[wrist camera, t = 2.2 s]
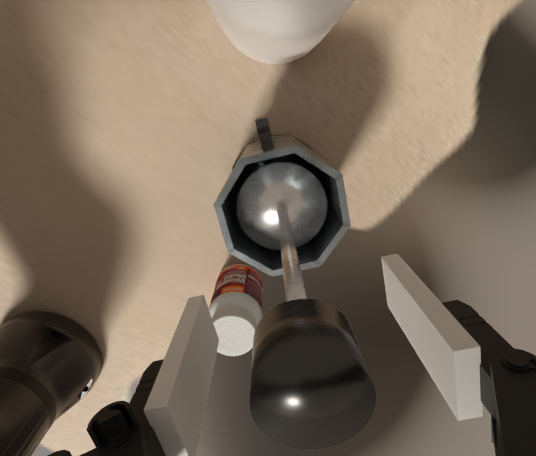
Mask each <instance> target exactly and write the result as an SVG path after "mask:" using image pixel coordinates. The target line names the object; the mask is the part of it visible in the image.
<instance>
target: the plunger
mask: <svg viewBox="0 0 536 456" xmlns="http://www.w3.org/2000/svg"><path fill="white" fill-rule="evenodd" d="M326 213H327V199H326V195H325V191H324V189H323V187H322V185H321V183H320V182H319V180H318V179H317V178H316V177H315V175H314V174H312V173H311V172H310V171H309V170H308V169H306V168H304V167H302V166H300V165H298V164H295V163H291V162H274V163H270V164H266V165H264V166H262V167H260V168H258V169H257V170H255V171H254V172H253V173H252V174H250V176H249V177H248V178H247V179H246V180H245V182H244V183H243V185H242V187H241V189H240V192H239V195H238V200H237V215H238V219H239V222H240V224H241V226H242V228H243V230H244V231H245V233H246V234H247V235H248V236H249V237H250V238H251V239H252V240H253V241H255V242H256V243H258V244H259V245H261V246H263V247H266V248H269V249H274V250H281V256H282V266H283V275H284V285H285V294H286V302H284V303H282V304H279V305H277V306H276V307H274V308H273V309H271V310H270V311H268V312H267V313H266V314H265V315H264V316H263V317H262V319H261V320H260V321H259V323H258V325H257V327H256V329H255V333H254V338H253V354H252V371H251V372H252V373H251V390H250V410H251V414H252V417H253V419H254V421H255V422H256V424H257V426H258V427H259V428H260V429H261V431H262V432H264V433H265V434H266V435H267V436H268V437H270V438H271V439H273V440H275V441H277V442H279V443H281V444H283V445H286V446H290V447H294V448H301V449H319V448H325V447H329V446H333V445H336V444H339V443H341V442H344V441H346V440H348V439H349V438H351V437H353V436H354V435H355V434H357V433H358V432H359V431H360V430H361V429H362V428H363V427H364V426H365V425H366V424H367V422H368V421H369V419H370V418H371V416H372V413H373V411H374V407H375V401H376V395H375V389H374V386H373V383H372V380H371V378H370V375H369V373H368V370H367V367H366V365H365V362H364V360H363V357H362V355H361V352H360V349H359V346H358V344H357V341H356V339H355V336H354V334H353V331H352V329H351V326H350V324H349V322H348V320H347V318H346V317H345V316H344V315H343V314H342V313H341V312H340V311H339V310H338V309H337V308H335V307H334V306H332V305H330V304H328V303H326V302H323V301H319V300H314V299H307V298H306V294H305V289H304V284H303V279H302V275H301V270H300V265H299V261H298V256H297V251H296V247H299V246H301V245H303V244H305V243H307V242H308V241H310V240H311V239H312V238H313V237H314V236H315V235H316V234H317V233H318V232H319V230H320V229H321V227H322V225H323V223H324V221H325V217H326Z"/></svg>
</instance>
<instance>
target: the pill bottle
mask: <svg viewBox="0 0 536 456" xmlns="http://www.w3.org/2000/svg"><path fill="white" fill-rule="evenodd" d="M262 286H263V284H262V279H261V277H260V275H259V273H258V272H257V271H256V270H255V269H254V268H252V267H251V266H248V265H245V264H234V265H230V266H228V267H226V268H225V269H224V270H223V271H222V272H221V273H220V275H219V277H218V279H217V283H216V286H215V290H214V293H213V297H212V300H211V303H210V307H209V312H210V315H211V318H212V321H213V324H214V327H215V330H216V332H217V335H218V338H219V343H218V348H217V352H219V353H221V354H224V355H227V356H237V355H242V354H244V353H246V352H248V351H249V350H250V349H251V348H252V347H253V338H254V333H255V329H256V327H257V325H258V323H259V321H260V320H261V319H262V297H263V287H262Z"/></svg>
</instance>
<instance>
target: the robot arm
mask: <svg viewBox="0 0 536 456" xmlns="http://www.w3.org/2000/svg"><path fill="white" fill-rule="evenodd" d="M381 259H382V267H383V274H384V282H385V289H386V296H387V304H388V307H389V308H390V310H391V312H392V314H393V315H394V317H395V318H396V320H397V322H398V323H399V325H400V327H401V328H402V330H403V331H404V333H405V335H406V336H407V338H408V340H409V341H410V343H411V345H412V346H413V348H414V349H415V351H416V353H417V354H418V356H419V358H420V359H421V361H422V363H423V364H424V366H425V367H426V369H427V370H428V372H429V374H430V376H431V377H432V379H433V381H434V382H435V384H436V385H437V387H438V389H439V390H440V392H441V394H442V395H443V397H444V398H445V400H446V402H447V403H448V405H449V406H450V408H451V410H452V411H453V413H454V415H455V416H456V418H457V420H458V421H459V420H465V419H471V418H477V417H482V416H483V414H482V413H483V412H482V403H483V404H484V406H485V407H486V408H487V410H488V411H489V413H490V414H491V423H492V424H491V427H492V442H493V443H494V447H495V454H496V456H536V356H535V355H533V354H531V353H529V352H526V351H524V350H519V349H514V348H513V347H512V346H511V345H510V344H509V343H508V342H507V341H506V340H504V339H503V337H501V336H500V335H499V334H498V333H497V332H496V331H495V330H494V329H493V328H492V327H491V326H490V325H489V324H488V323H486V321H485V320H484V319H483V318H482V317H480V316H479V314H478V313H477V312H476V311H475V310H474V309H473V308H472V307H470V306H469V305H467V304H465V303H463V302H461V301H459V300H454V301H449V302H444V303H441V302H440V301H439V300H438V299H437V297H436V296H435V295H434V294H433V293H432V292H431V291H430V290H429V289H428V287H427V286H426V285H425V284H424V283H423V282H422V281H421V280H420V279H419V277H418V276H417V275H416V274H415V273H414V272H413V271H412V270H411V269H410V267H409V266H408V265H407V264H406V263H405V262H404V261H403V260H402V258H401V257H400V256H399V255H398V254H394V255H389V256H384V257H382V258H381ZM218 343H219V338H218V335H217V332H216V330H215V327H214V324H213V321H212V318H211V315H210V312H209V309H208V306H207V303H206V300H205V297H204V295H201V296H196V297H191V298H189V299H188V301H187V304H186V306H185V309H184V311H183V314H182V316H181V319H180V321H179V324H178V326H177V329H176V331H175V333H174V336H173V338H172V341H171V343H170V346H169V348H168V351H167V353H166V356H165V358H164V360H159V361H154V362H152V363H151V365H150V366H149V367H148V368H147V369H146V370H145V371H144V373H143V375H142V377H141V380H140V382H139V384H138V386H137V388H136V392H135V393H134V395H133V397H132V399H131V401H130V404H129V403H128V402H125V401H117V402H114V403H111V404H109V405H107V406H106V407H104V408H102V409H101V410H100V411H99V412H98V413H97V414H95V415H94V417H93V418H92V419H91V421H90V422H89V424H88V428H87V431H88V433H89V435H90V437H91V439H92V440H93V442H94V444H95V446H96V448H95V449H93V450H91V451H89V452H87V453H84V454H82V455H80V456H196V452H197V447H198V442H199V437H200V432H201V427H202V422H203V417H204V413H205V407H206V403H207V397H208V392H209V387H210V383H211V378H212V373H213V368H214V363H215V358H216V353H217V348H218ZM101 368H102V357H101V353H100V350H99V347H98V345H97V343H96V342H95V340H94V339H93V337H92V336H91V335H90V334H89V333H88V332H87V331H86V330H85V329H84V328H83V327H81V326H80V325H79V324H77V323H76V322H74V321H72V320H70V319H68V318H66V317H64V316H61V315H58V314H54V313H50V312H40V311H36V312H27V313H22V314H19V315H17V316H14V317H12V318H11V319H9V320H8V321H7V322H5V323H4V324H3V325H2V326H1V327H0V456H31V455H32V454H33V452H34V451H35V449H36V448H37V446H38V445H39V443H40V442H41V440H42V439H43V437H44V436H45V434H46V433H47V431H48V430H49V428H50V427H51V425H52V424H53V422H54V421H55V420H56V419H58V418H59V417H60V416H61V415H62V414H64V413H65V412H66V411H67V410H69V409H70V408H71V407H72V406H73V405H75V404H76V403H77V402H78V401H80V400H81V399H82V398H83V397H84V396H85V395H86V394H87V393H88V392H89V391H90V390H91V388H92V386H93V385H94V383H95V382H96V380H97V378H98V377H99V375H100V372H101ZM48 456H72V455H71V453H70V451H66V450H61V451H56V452H54V453H52V454H50V455H48Z"/></svg>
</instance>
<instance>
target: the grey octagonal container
mask: <svg viewBox="0 0 536 456" xmlns="http://www.w3.org/2000/svg"><path fill="white" fill-rule="evenodd" d="M255 121H256V125H257V130H258V134H259V138H260V139H259V140H257V141H255V142H253V143H250V144H248V145H247V146H246V148H245V149H244V151H243V152H242V153H241V154H240V155H239V157H238V158H237V160H236V162H235V164H234V166H233V169H232V172H231V174H230V175H229V177H228V179H227V181H226V183H225V184H224V186H223V188H222V190H221V192H220V194H219V196H218V198H217V199H216V201H215V203H214V207H215V210H216V214H217V217H218V220H219V224H220V227H221V230H222V234H223V237H224V240H225V244H226V247H227V250H228V253H230V254H231V255H233V256H235V257H237V258H239V259H241V260H242V261H244V262H246V263H248V264H250V265H251V266H253V267H255V268H257V269H259V270H260V271H262V272H264V273H266V274H268V275H270V276H277V275H282V274H283V266H282V256H281V250H274V249H269V248H266V247H263V246H261V245H259V244H258V243H256V242H255V241H253V240H252V239H251V238H250V237H249V236H248V235H247V234H246V233H245V231H244V230H243V228H242V226H241V224H240V222H239V219H238V215H237V200H238V195H239V192H240V189H241V187H242V185H243V183H244V182H245V180H246V179H247V178H248V177H249V176H250V174H252V173H253V172H254V171H255V170H257V169H258V168H260V167H262V166H264V165H266V164H270V163H274V162H291V163H295V164H298V165H300V166H302V167H304V168H306V169H308V170H309V171H310V172H311V173H312V174H314V175H315V177H316V178H317V179H318V180H319V182H320V183H321V185H322V187H323V189H324V191H325V195H326V199H327V213H326V217H325V221H324V223H323V225H322V227H321V229H320V230H319V232H318V233H317V234H316V235H315V236H314V237H313V238H312V239H311V240H310V241H308V242H307V243H305V244H303V245H301V246H299V247H296V251H297V256H298V261H299V265H300V270H305V269H310V268H314V267H319V266H321V265H322V264H323V262H324V261H325V260H326V258H327V257H328V256H329V254H330V253H331V252H332V250H333V249H334V247H335V246H336V245H337V243H338V242H339V240H340V239H341V238H342V237H343V235H344V234H345V233H346V231H347V230H348V229H349V227H350V219H349V212H348V206H347V200H346V194H345V188H344V182H343V176H342V174H341V173H340V172H339V171H338V170H336V169H335V168H334V167H333V166H332V165H331V164H330V163H329V162H327V161H326V160H325V159H324V158H323V157H322V156H320V155H319V154H317V153H316V152H315V151H314V150H313V149H312V148H311V147H309V146H308V145H307V144H305V143H304V142H302V141H300V140H298V139H296V138H293V137H291V136H290V135H288V134H287V135H283V136H282V135H274V136H271V132H270V128H269V123H268V119H267V115H265V116H261V117H257V118H256V120H255Z"/></svg>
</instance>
